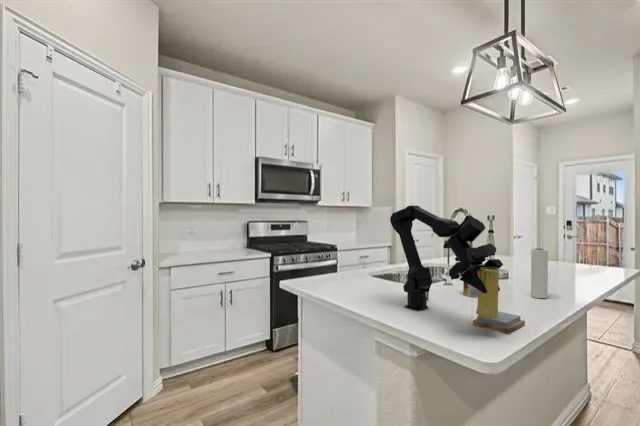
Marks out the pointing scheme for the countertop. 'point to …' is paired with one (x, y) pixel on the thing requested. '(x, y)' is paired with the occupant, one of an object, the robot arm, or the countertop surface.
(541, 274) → the grey cylinder
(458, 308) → the countertop surface
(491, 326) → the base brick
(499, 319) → the top brick
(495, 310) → the vase
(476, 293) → the canned food
